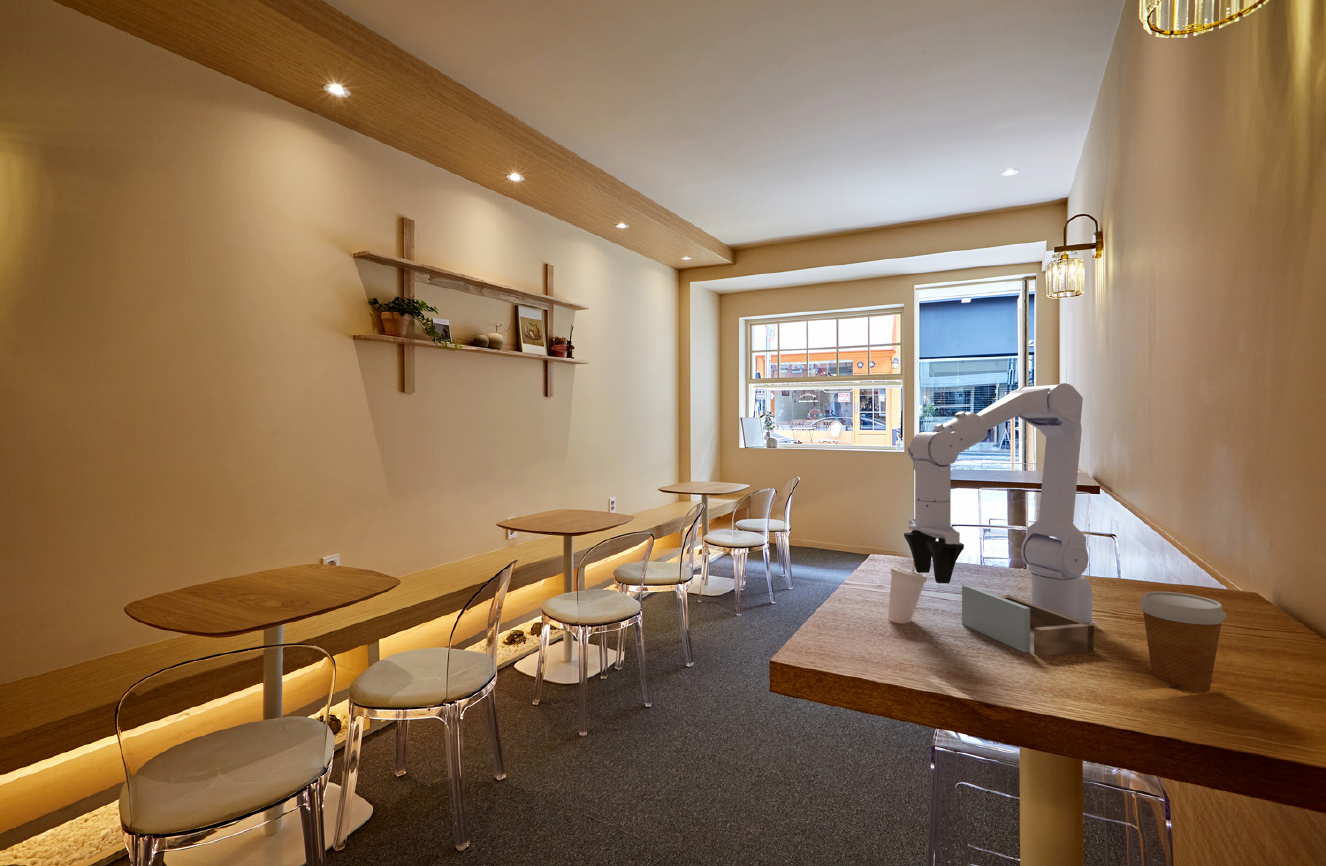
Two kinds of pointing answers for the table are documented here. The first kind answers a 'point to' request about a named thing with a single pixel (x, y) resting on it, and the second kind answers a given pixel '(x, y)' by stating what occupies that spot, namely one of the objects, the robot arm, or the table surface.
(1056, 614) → the box
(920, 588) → the smoothie
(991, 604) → the panel
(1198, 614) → the disposable coffee cup
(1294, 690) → the table surface
